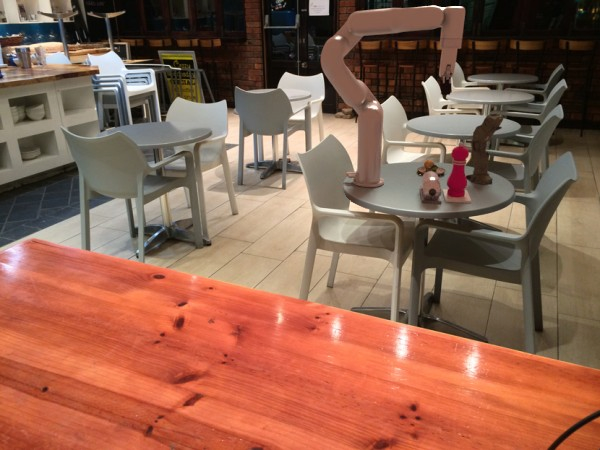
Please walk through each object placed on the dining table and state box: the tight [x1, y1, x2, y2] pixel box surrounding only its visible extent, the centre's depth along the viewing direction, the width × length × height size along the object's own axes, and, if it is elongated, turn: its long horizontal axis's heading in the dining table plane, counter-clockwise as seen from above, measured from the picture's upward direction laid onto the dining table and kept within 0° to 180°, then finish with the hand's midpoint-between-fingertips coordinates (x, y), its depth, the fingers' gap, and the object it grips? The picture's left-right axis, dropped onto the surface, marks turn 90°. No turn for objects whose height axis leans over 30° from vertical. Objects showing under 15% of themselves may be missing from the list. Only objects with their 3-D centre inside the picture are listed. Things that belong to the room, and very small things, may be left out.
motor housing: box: [419, 171, 443, 205], centre depth 185 cm, size 7×16×7 cm, turn 170°
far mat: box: [442, 188, 472, 204], centre depth 184 cm, size 9×12×1 cm
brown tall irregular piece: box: [465, 112, 504, 185], centre depth 196 cm, size 13×7×29 cm, turn 25°
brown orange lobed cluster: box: [417, 159, 446, 178], centre depth 211 cm, size 12×12×8 cm
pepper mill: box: [446, 141, 470, 197], centre depth 180 cm, size 7×7×20 cm
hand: (444, 92), depth 183 cm, fingers open, 9 cm apart
